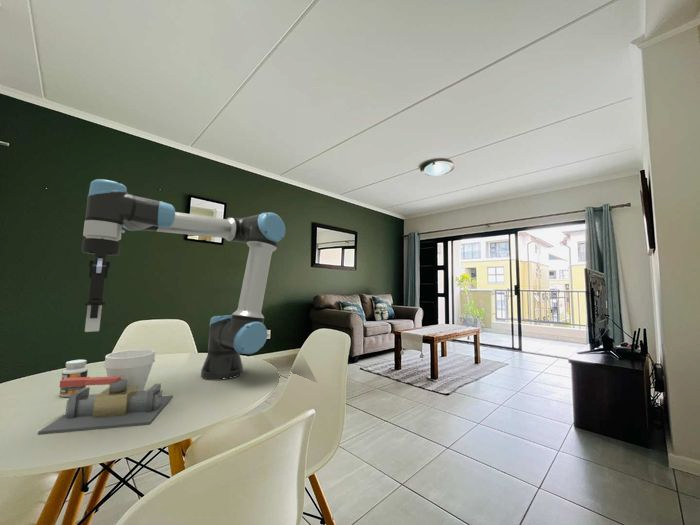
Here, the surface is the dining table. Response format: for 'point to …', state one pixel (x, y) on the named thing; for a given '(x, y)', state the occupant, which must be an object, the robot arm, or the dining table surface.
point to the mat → (104, 420)
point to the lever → (96, 382)
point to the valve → (113, 402)
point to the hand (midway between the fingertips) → (92, 331)
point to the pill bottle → (73, 375)
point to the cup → (130, 366)
